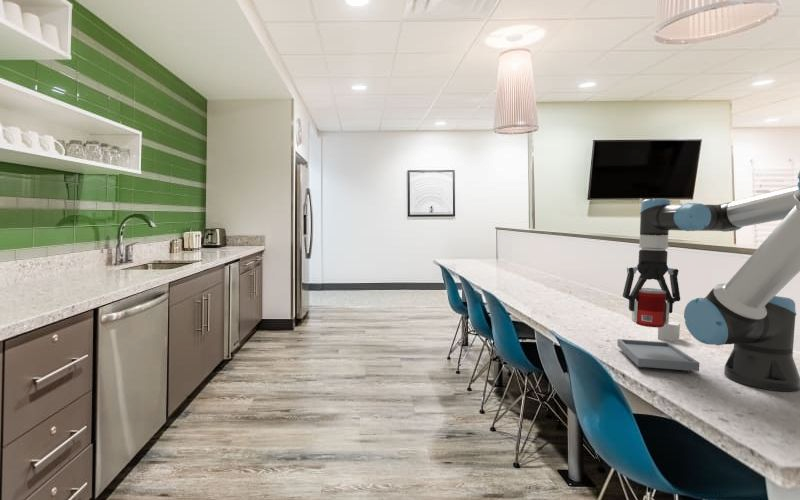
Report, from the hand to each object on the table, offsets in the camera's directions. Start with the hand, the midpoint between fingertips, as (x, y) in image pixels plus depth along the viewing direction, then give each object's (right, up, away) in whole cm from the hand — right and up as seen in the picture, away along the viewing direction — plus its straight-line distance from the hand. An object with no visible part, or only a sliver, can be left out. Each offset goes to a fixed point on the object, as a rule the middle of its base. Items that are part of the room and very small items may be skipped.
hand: (649, 322), depth 128 cm
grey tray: (-1, -11, -4) cm, 12 cm away
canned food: (0, -1, 0) cm, 1 cm away
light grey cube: (+20, -10, +22) cm, 32 cm away
